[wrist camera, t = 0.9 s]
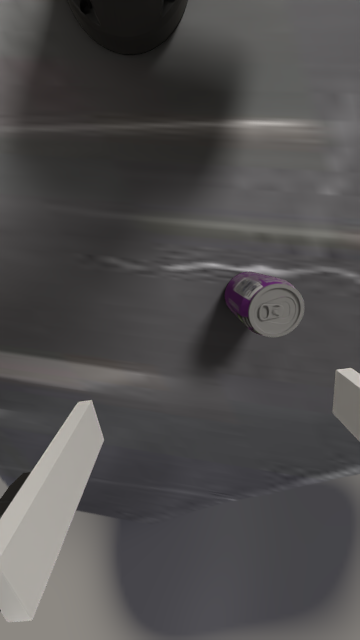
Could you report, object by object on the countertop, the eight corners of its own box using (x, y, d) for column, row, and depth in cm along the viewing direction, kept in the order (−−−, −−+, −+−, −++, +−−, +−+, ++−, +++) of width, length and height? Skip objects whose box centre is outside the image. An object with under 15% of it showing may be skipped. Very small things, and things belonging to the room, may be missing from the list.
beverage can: (224, 316, 37) (244, 343, 26) (223, 273, 35) (244, 282, 24) (266, 313, 37) (306, 338, 26) (268, 269, 35) (311, 276, 24)
